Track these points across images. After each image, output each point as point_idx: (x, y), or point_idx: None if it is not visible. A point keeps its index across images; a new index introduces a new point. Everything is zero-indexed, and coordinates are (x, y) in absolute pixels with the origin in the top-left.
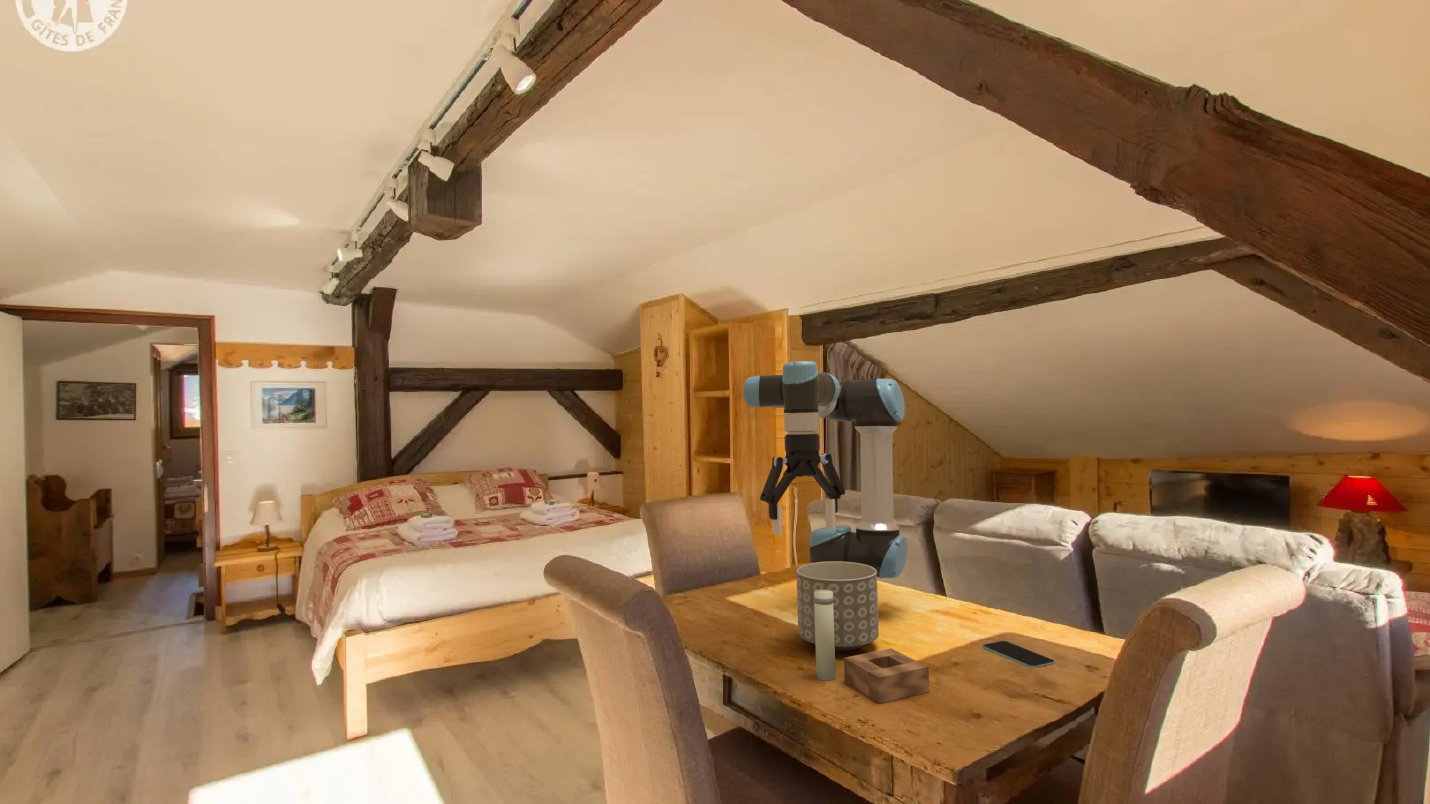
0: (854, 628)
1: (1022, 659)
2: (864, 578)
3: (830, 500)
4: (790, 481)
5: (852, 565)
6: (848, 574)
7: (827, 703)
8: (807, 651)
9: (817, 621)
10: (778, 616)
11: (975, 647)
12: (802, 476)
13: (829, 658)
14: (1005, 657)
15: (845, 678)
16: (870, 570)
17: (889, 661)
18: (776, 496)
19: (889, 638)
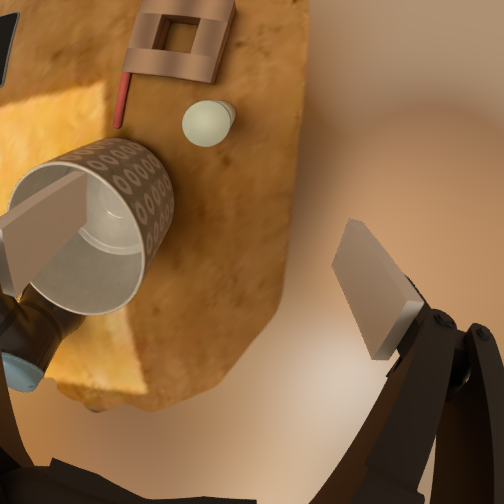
0: (121, 145)
1: (8, 32)
2: (55, 161)
3: (9, 242)
4: (390, 443)
5: None
6: None
7: (289, 52)
8: None
9: (232, 119)
10: (124, 323)
11: (6, 90)
12: (203, 497)
13: (224, 101)
14: (10, 48)
15: (214, 81)
16: None
17: (154, 46)
18: (451, 343)
19: None
